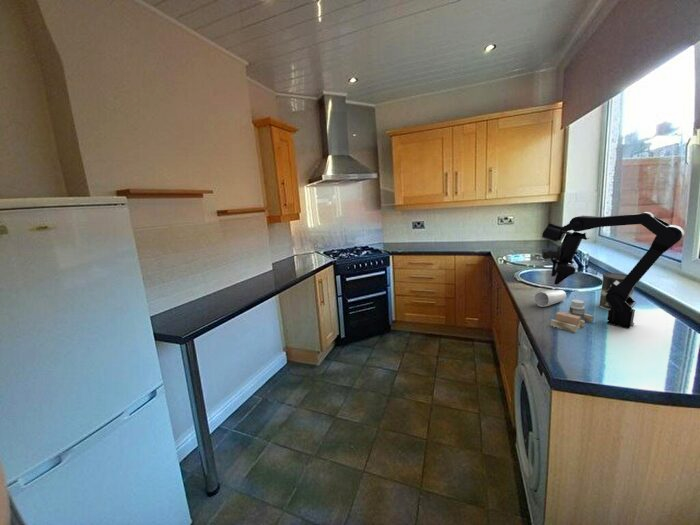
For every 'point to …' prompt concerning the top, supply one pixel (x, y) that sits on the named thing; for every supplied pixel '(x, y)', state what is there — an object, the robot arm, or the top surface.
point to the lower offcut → (575, 325)
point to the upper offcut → (568, 318)
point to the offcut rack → (569, 326)
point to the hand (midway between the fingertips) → (554, 280)
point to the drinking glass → (549, 297)
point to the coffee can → (606, 284)
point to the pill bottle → (577, 308)
